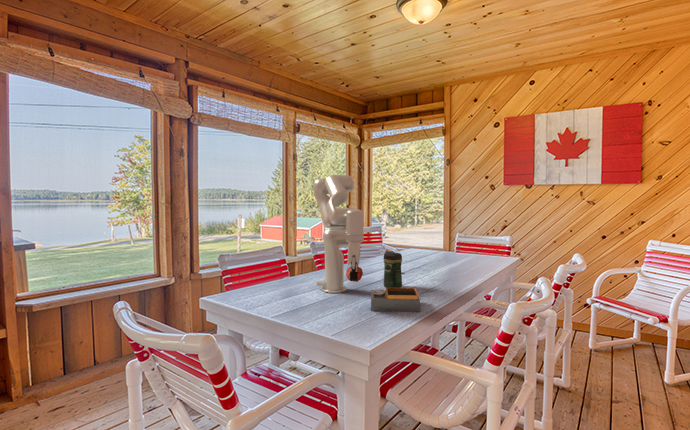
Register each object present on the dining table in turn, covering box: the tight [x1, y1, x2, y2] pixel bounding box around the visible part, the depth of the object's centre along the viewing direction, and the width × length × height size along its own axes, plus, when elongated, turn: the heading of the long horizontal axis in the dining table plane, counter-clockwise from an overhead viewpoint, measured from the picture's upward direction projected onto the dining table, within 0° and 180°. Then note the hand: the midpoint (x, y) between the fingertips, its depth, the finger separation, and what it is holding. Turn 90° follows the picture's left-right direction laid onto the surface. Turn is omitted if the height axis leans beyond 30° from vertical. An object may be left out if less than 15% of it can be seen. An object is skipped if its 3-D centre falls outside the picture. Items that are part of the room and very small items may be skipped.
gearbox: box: [370, 287, 421, 313], centre depth 150 cm, size 20×14×6 cm
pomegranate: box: [345, 265, 364, 283], centre depth 152 cm, size 7×7×10 cm
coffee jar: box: [383, 251, 403, 288], centre depth 182 cm, size 10×8×19 cm
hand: (354, 277), depth 152 cm, fingers closed on pomegranate, 7 cm apart
